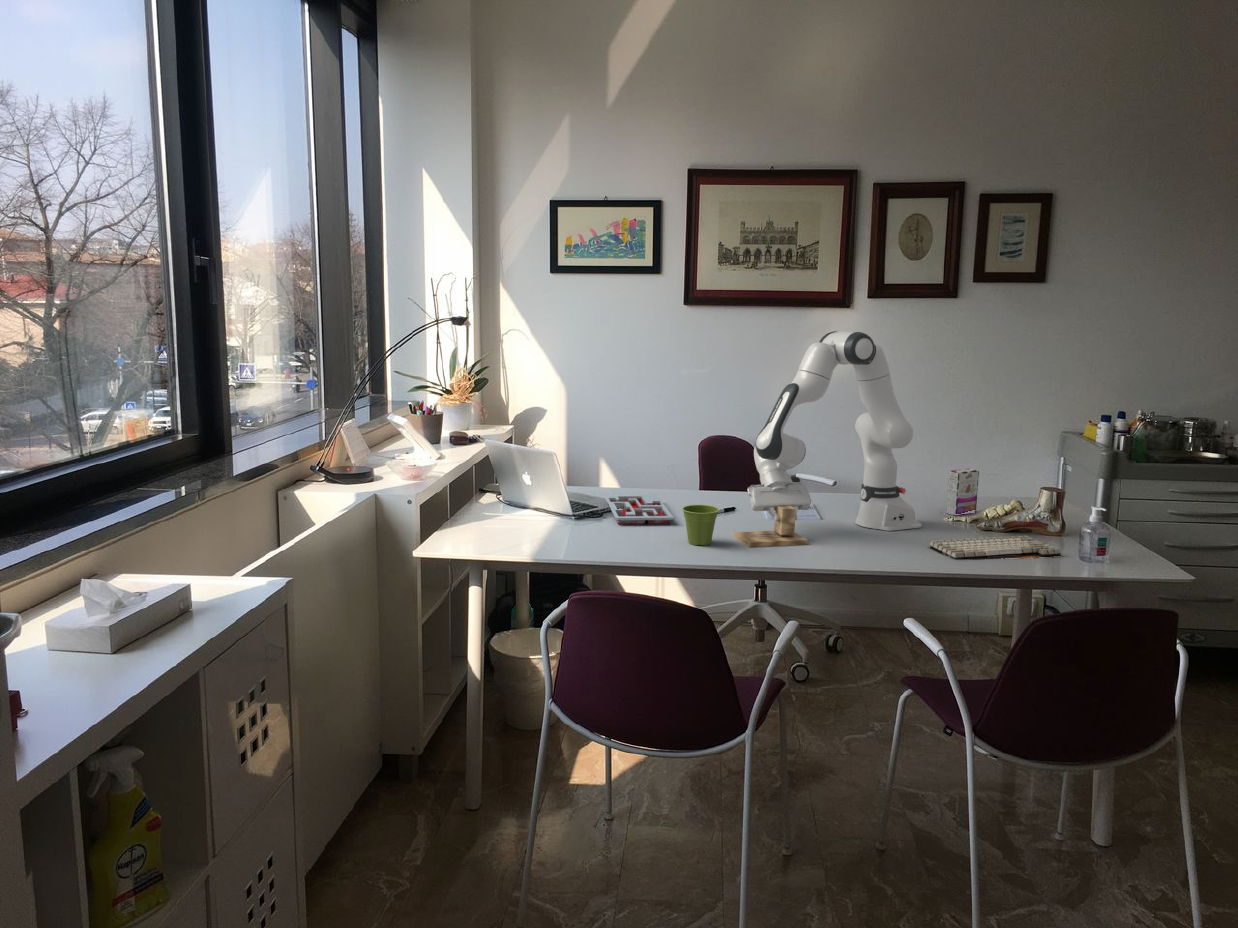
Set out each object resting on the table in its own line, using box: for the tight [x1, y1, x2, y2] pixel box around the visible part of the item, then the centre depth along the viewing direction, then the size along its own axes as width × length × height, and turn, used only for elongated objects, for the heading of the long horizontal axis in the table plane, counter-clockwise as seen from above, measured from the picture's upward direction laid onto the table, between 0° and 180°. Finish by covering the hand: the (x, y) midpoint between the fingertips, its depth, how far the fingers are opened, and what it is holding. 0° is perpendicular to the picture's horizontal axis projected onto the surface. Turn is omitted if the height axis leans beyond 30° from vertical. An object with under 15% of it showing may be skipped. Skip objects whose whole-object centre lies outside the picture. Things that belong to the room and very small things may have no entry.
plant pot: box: [681, 504, 720, 546], centre depth 307 cm, size 12×12×11 cm
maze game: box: [604, 494, 675, 526], centre depth 345 cm, size 35×20×3 cm, turn 7°
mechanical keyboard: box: [927, 535, 1062, 561], centre depth 307 cm, size 38×19×3 cm, turn 105°
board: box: [733, 530, 809, 548], centre depth 313 cm, size 20×13×2 cm, turn 105°
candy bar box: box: [945, 467, 980, 514], centre depth 358 cm, size 11×5×16 cm, turn 120°
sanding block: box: [773, 506, 796, 536], centre depth 314 cm, size 5×5×9 cm
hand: (786, 520), depth 313 cm, fingers closed on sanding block, 5 cm apart
